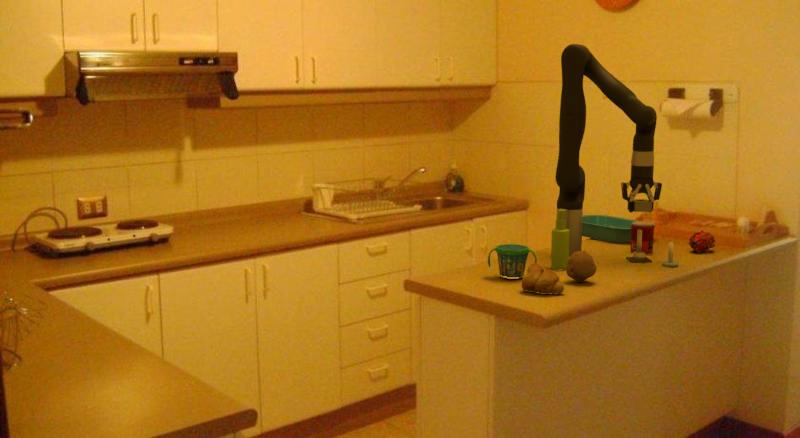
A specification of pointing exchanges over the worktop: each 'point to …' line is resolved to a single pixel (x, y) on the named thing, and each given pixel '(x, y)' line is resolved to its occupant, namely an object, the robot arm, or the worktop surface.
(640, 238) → the stand
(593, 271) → the natural sponge
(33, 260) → the worktop surface
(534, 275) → the bread roll
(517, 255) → the snack cup
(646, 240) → the canned food
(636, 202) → the gray block
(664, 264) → the hub
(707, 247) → the dragon fruit
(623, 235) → the casserole dish
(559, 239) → the soap dispenser
